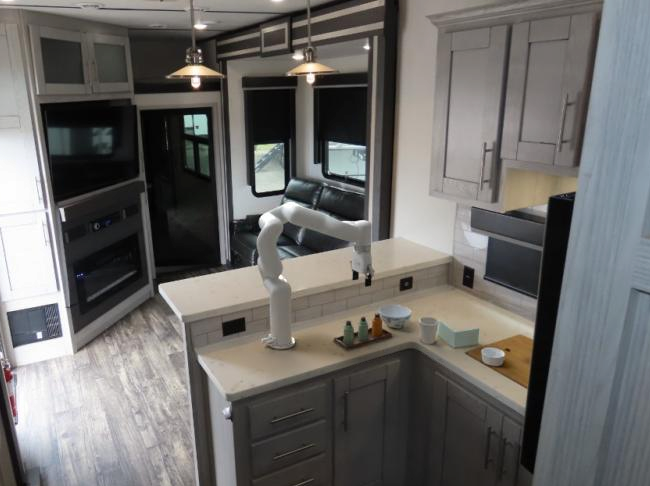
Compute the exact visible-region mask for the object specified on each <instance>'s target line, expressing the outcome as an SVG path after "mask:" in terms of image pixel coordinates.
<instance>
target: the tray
mask: <svg viewBox="0 0 650 486" xmlns="http://www.w3.org/2000/svg"><path fill="white" fill-rule="evenodd" d="M392 337H393V333H392V332H390V331H388V330H387V329H385V328H384V327H382V336H380V337H375V336H373V335H372V326H371V327H368V340H366V341H361V340H359V339H358V330H356V331H354V344H352V345H346V344H344V342H343V334H342V335H339V336H335V337H333V342H334V343H336V344H337V345H339V346H340V347H342V348H343V349H345V350H346V351H348V350H351V349H355V348H358V347H362V346H365V345H368V344H372V343H375V342H380V341H383V340H386V339H389V338H392Z"/></svg>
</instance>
